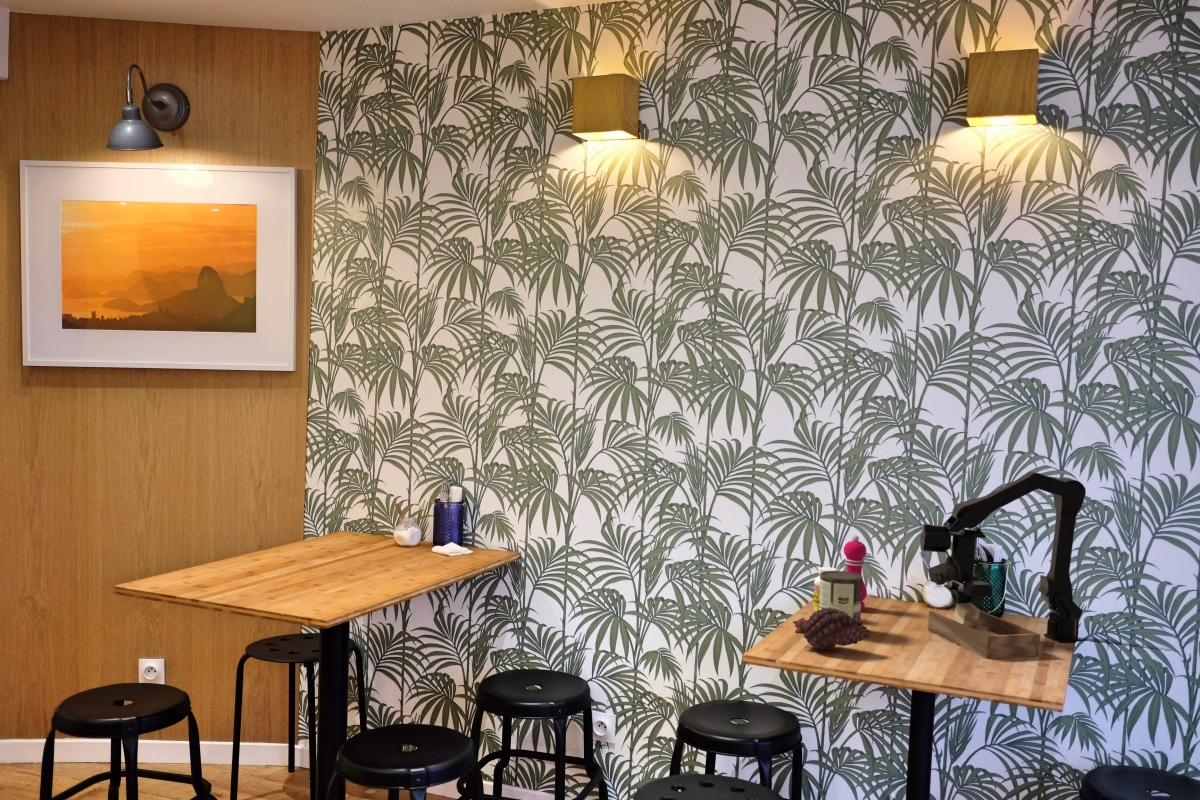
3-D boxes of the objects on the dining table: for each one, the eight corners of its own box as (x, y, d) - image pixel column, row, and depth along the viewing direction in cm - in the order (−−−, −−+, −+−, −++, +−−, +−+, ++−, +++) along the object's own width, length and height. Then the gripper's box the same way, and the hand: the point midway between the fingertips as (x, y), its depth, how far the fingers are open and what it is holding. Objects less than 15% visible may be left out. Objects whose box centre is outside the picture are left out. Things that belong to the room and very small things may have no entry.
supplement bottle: (807, 615, 276) (809, 566, 275) (829, 613, 278) (831, 565, 278) (821, 621, 270) (823, 571, 269) (843, 620, 272) (845, 570, 271)
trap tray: (976, 628, 267) (977, 609, 267) (1039, 655, 244) (1040, 634, 244) (927, 630, 264) (928, 611, 263) (986, 658, 240) (987, 636, 240)
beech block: (967, 619, 263) (970, 602, 261) (976, 626, 259) (980, 610, 258) (953, 619, 262) (956, 603, 260) (962, 627, 258) (965, 610, 257)
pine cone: (870, 649, 245) (872, 607, 245) (867, 661, 236) (869, 616, 235) (793, 640, 251) (795, 599, 250) (787, 651, 241) (789, 608, 241)
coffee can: (844, 624, 267) (846, 569, 267) (868, 635, 258) (871, 578, 257) (809, 627, 264) (811, 571, 263) (833, 638, 254) (835, 580, 253)
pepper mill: (866, 612, 280) (870, 538, 280) (839, 610, 282) (842, 536, 281) (865, 606, 288) (868, 533, 287) (838, 604, 289) (841, 532, 288)
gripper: (914, 545, 269) (910, 605, 270) (955, 563, 251) (951, 627, 252) (953, 545, 272) (948, 604, 273) (997, 562, 253) (992, 626, 255)
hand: (958, 615), depth 263 cm, fingers closed
